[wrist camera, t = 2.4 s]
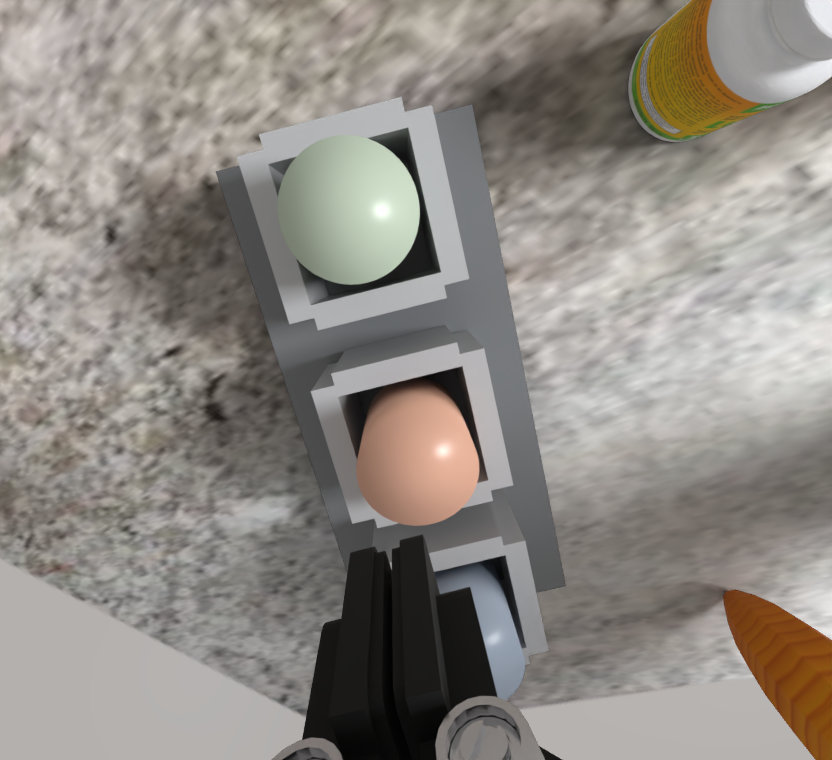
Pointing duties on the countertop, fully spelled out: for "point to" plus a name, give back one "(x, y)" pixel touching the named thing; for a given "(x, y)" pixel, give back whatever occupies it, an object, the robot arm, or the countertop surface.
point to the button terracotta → (416, 454)
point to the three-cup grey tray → (409, 347)
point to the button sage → (348, 209)
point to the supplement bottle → (728, 63)
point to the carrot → (787, 666)
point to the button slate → (490, 621)
